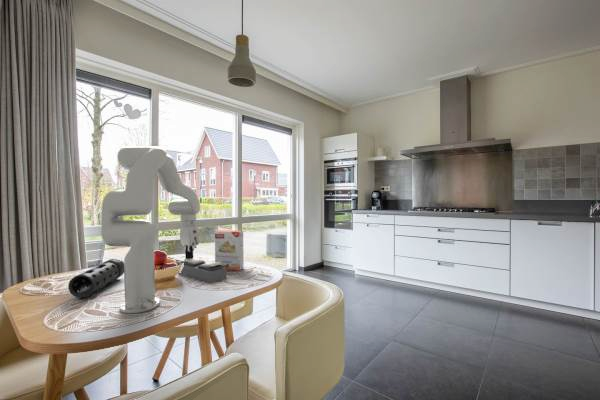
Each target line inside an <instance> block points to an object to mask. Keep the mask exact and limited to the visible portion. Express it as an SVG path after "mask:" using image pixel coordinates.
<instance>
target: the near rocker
mask: <svg viewBox="0 0 600 400" xmlns="http://www.w3.org/2000/svg"><path fill="white" fill-rule="evenodd" d="M219 264H220V262H215V261H214V262H211V261H210V262H205V264H201V266H204V267H208V268H209V267H213V266H215V265H219Z"/></svg>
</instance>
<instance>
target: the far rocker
mask: <svg viewBox="0 0 600 400" xmlns="http://www.w3.org/2000/svg"><path fill="white" fill-rule="evenodd" d="M183 261H186V262H188V263H192V264H196V263H200V262H202V261H203V259H201V258H197V257H194V256H193V258H190V259H186V258H184V259H183Z"/></svg>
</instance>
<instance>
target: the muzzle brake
mask: <svg viewBox="0 0 600 400" xmlns="http://www.w3.org/2000/svg"><path fill="white" fill-rule="evenodd" d="M123 275H124V260H121V259H119V258H111V259H108V260H106V261H104V262H103V263H101V264H98V265H97V266H95V267H92V268H91V269H89V270H85V271H83V272H81V273H80V274H77V275H75V276H74V277H72V278H71V279H70V280H69V283H68V291H69V293H70V294H71V295H72V296H73V297H75V298H78V299H80V300H85V299H87V298H89V297H90V296H92V295H93V294H95V293H97V292H98V291H99V290H101V289H102V288H103V287H105V286H109V285H111V284H112V282H113V281H115V280H118V279H119V278H120V277H122V276H123Z"/></svg>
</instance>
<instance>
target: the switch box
mask: <svg viewBox="0 0 600 400" xmlns="http://www.w3.org/2000/svg"><path fill="white" fill-rule="evenodd" d="M181 263H184V267H183V269H182V271H181V273H180V274H179V275H181V276H186V277H189V278H193V279H196V280H199V281H202V282H206V283H211V284H212V283H215V282H218V281H221V280H225V279H227V270H226V268H225V267H223V265H215V266H213V267H209V268H208V267H204V266H201V264H205V263H206V261H205V260H202V262H200V263H196V264H192V263H188V262H186V261H184V260H183V261H181ZM181 263H180V264H181Z"/></svg>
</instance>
